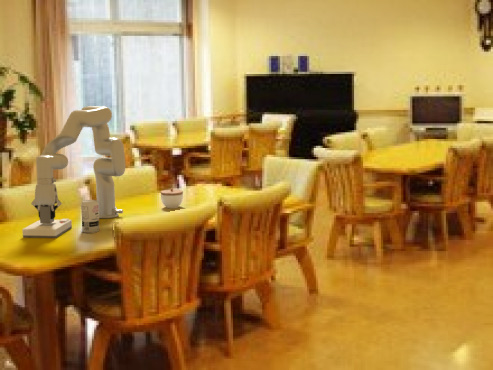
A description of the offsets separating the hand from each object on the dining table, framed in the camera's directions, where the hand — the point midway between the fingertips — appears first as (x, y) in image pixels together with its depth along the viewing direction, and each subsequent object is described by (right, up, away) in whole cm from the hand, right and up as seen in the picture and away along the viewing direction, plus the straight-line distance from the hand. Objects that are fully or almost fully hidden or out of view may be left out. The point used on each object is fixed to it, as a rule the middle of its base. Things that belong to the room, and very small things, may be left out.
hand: (47, 218), depth 348 cm
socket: (0, -7, +1) cm, 7 cm away
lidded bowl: (+54, +3, +63) cm, 83 cm away
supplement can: (+20, -7, +3) cm, 22 cm away
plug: (0, -2, 0) cm, 2 cm away
